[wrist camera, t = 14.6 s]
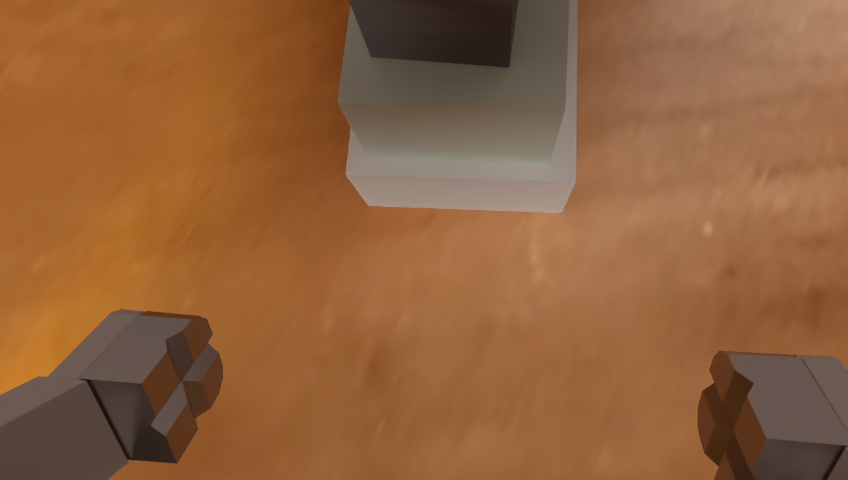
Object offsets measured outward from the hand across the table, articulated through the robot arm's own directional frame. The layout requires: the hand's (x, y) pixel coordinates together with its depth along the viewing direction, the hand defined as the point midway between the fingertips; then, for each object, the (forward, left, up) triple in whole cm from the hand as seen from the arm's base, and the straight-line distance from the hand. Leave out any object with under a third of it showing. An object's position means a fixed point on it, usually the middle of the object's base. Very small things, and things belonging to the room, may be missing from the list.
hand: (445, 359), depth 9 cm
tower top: (+1, -13, -13) cm, 18 cm away
